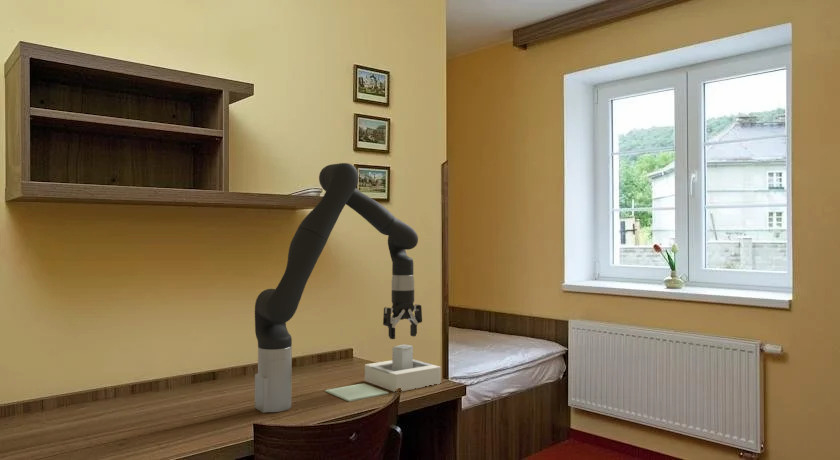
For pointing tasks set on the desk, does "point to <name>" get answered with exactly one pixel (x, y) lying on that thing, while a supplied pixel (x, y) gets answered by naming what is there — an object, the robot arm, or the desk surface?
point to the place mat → (356, 392)
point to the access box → (402, 375)
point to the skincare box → (402, 357)
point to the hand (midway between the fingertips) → (402, 337)
